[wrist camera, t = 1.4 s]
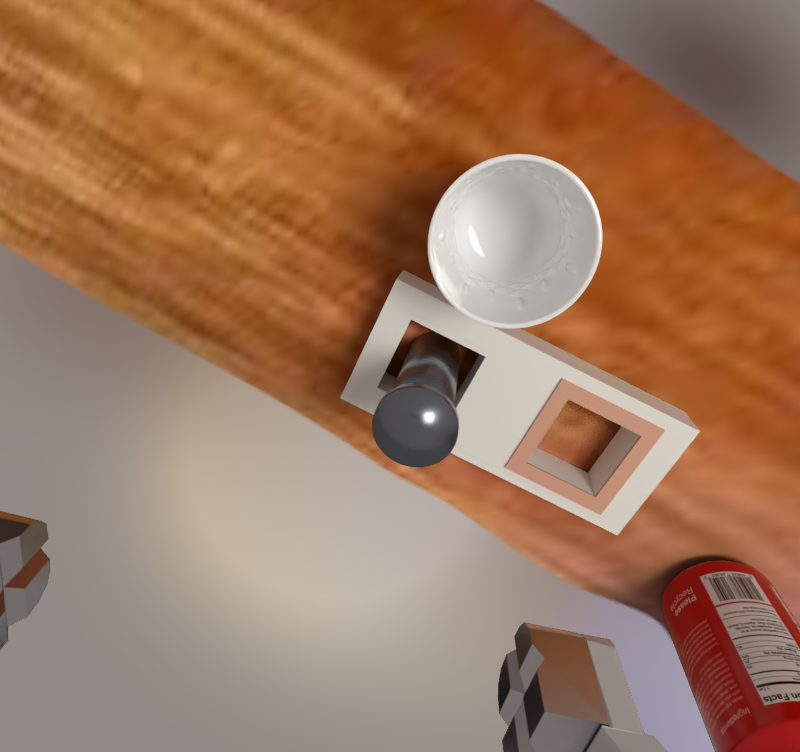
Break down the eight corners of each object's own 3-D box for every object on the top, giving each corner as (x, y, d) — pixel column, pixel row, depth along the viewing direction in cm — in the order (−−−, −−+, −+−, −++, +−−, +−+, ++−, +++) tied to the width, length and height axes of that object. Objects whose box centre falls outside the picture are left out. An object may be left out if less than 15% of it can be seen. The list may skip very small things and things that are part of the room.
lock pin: (477, 344, 38) (474, 413, 28) (448, 397, 40) (434, 480, 30) (419, 315, 38) (394, 373, 28) (392, 369, 40) (358, 443, 29)
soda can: (734, 534, 40) (863, 730, 27) (791, 607, 42) (941, 829, 28) (637, 583, 43) (707, 784, 29) (693, 650, 45) (786, 872, 31)
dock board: (684, 411, 38) (701, 432, 35) (608, 510, 41) (617, 537, 38) (403, 269, 37) (396, 279, 34) (350, 381, 40) (339, 399, 38)
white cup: (529, 307, 37) (543, 356, 28) (421, 251, 37) (399, 283, 27) (597, 193, 34) (638, 205, 25) (480, 131, 34) (477, 121, 24)
